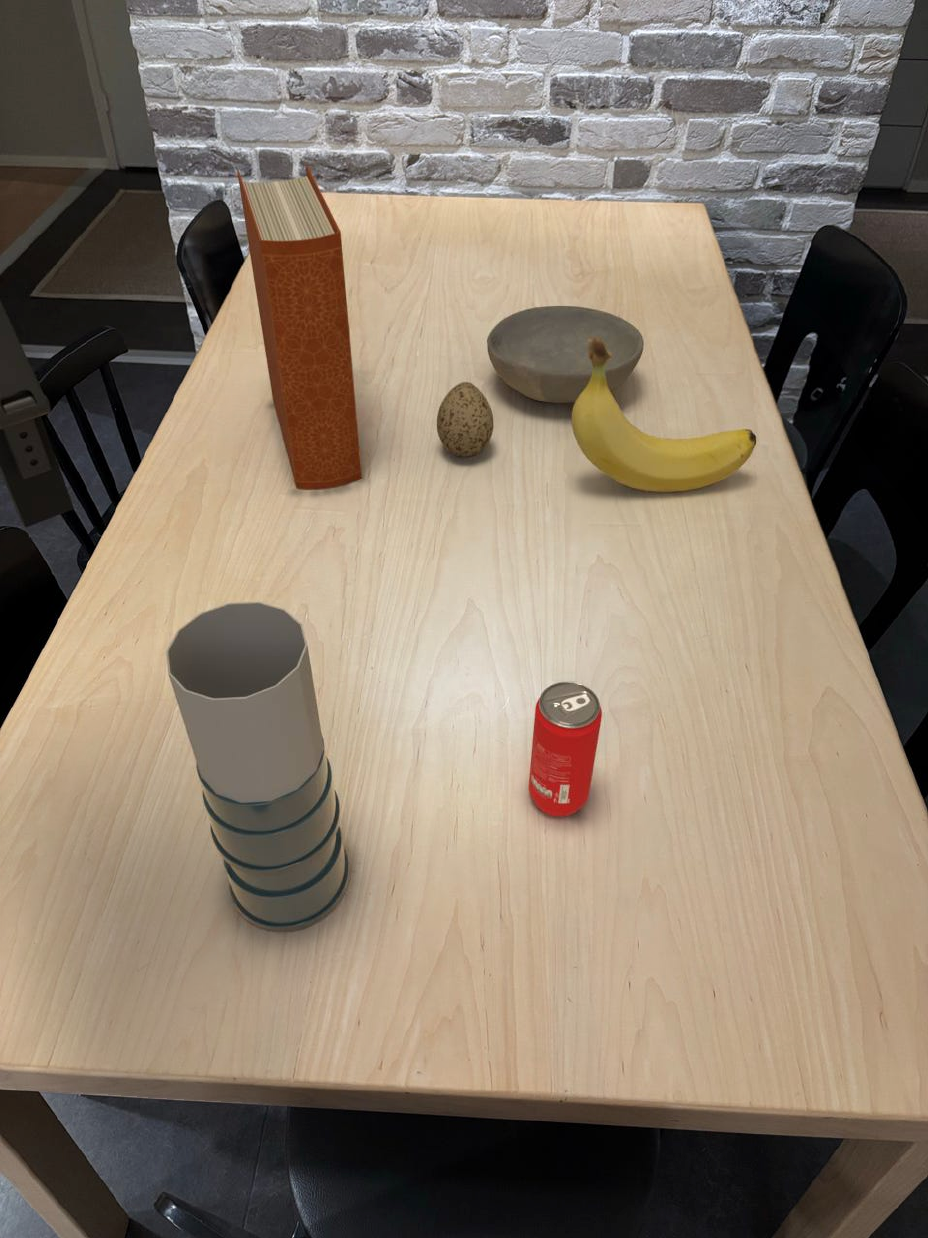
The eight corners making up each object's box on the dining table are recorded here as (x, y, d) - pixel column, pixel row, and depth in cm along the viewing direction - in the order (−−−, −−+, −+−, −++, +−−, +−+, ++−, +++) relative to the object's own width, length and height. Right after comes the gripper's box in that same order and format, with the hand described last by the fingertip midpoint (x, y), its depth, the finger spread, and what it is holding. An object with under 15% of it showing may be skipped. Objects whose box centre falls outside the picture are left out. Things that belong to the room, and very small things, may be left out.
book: (272, 399, 127) (237, 170, 106) (331, 391, 128) (307, 164, 108) (297, 493, 111) (261, 244, 90) (363, 482, 112) (342, 235, 92)
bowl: (544, 444, 119) (548, 389, 113) (457, 377, 131) (457, 325, 126) (666, 399, 127) (675, 346, 122) (573, 340, 140) (578, 290, 134)
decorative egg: (501, 461, 116) (504, 391, 109) (448, 473, 114) (448, 402, 107) (479, 433, 121) (481, 364, 114) (429, 444, 119) (427, 374, 112)
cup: (175, 748, 62) (140, 644, 55) (276, 687, 66) (255, 583, 59) (244, 825, 58) (215, 723, 51) (347, 755, 62) (333, 652, 55)
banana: (737, 467, 115) (775, 317, 101) (752, 494, 111) (794, 341, 97) (561, 477, 113) (575, 325, 100) (569, 505, 109) (586, 350, 95)
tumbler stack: (270, 956, 68) (234, 836, 57) (209, 870, 73) (165, 745, 62) (372, 884, 72) (357, 759, 61) (308, 808, 78) (283, 680, 67)
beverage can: (517, 783, 80) (524, 691, 71) (569, 763, 81) (582, 671, 73) (545, 829, 76) (556, 738, 68) (599, 808, 78) (615, 716, 70)
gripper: (29, 92, 34) (157, 537, 49) (-149, -7, 48) (-8, 363, 63) (-192, 129, 31) (17, 597, 45) (-315, 11, 45) (-125, 398, 59)
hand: (3, 462), depth 54 cm, fingers open, 13 cm apart
